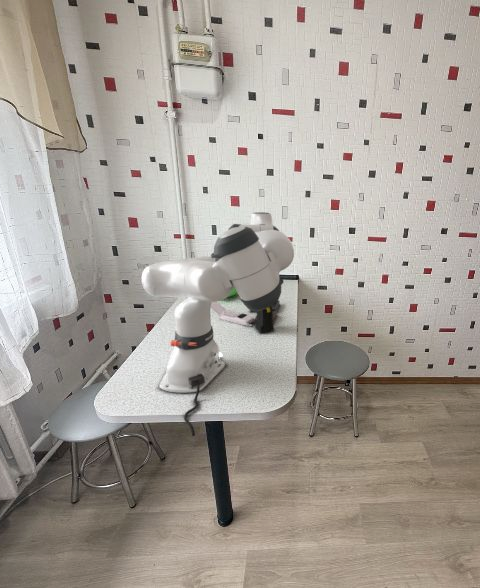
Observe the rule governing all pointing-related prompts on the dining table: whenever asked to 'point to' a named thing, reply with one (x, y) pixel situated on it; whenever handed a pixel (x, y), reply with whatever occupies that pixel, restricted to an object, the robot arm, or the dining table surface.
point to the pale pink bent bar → (232, 315)
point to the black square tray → (274, 307)
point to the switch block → (272, 313)
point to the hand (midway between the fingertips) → (263, 285)
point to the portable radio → (264, 320)
